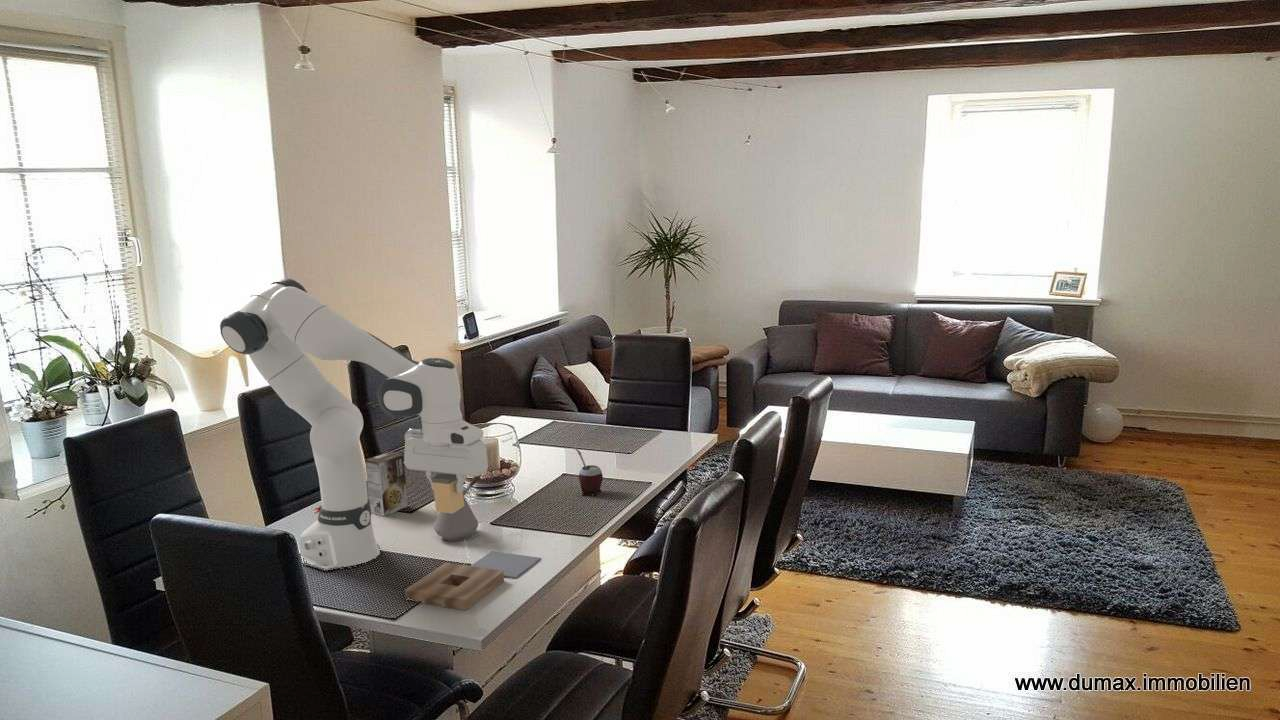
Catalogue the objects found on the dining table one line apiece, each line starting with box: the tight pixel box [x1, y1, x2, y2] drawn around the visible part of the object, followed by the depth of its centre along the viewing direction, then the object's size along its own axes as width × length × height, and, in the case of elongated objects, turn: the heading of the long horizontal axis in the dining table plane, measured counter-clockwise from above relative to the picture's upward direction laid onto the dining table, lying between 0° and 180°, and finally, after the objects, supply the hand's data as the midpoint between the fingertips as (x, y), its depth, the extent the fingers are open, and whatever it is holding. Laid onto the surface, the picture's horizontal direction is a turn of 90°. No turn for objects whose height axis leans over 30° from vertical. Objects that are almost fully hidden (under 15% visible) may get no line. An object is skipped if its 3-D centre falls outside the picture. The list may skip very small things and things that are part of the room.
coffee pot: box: [434, 466, 492, 542], centre depth 249 cm, size 21×12×15 cm, turn 153°
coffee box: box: [364, 451, 409, 517], centre depth 267 cm, size 9×6×16 cm
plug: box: [432, 472, 464, 514], centre depth 208 cm, size 4×4×8 cm
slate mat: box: [470, 550, 542, 580], centre depth 226 cm, size 14×12×1 cm
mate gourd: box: [570, 444, 604, 497], centre depth 274 cm, size 8×8×15 cm
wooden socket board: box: [404, 562, 505, 612], centre depth 212 cm, size 16×16×2 cm
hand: (447, 490), depth 208 cm, fingers closed on plug, 4 cm apart
